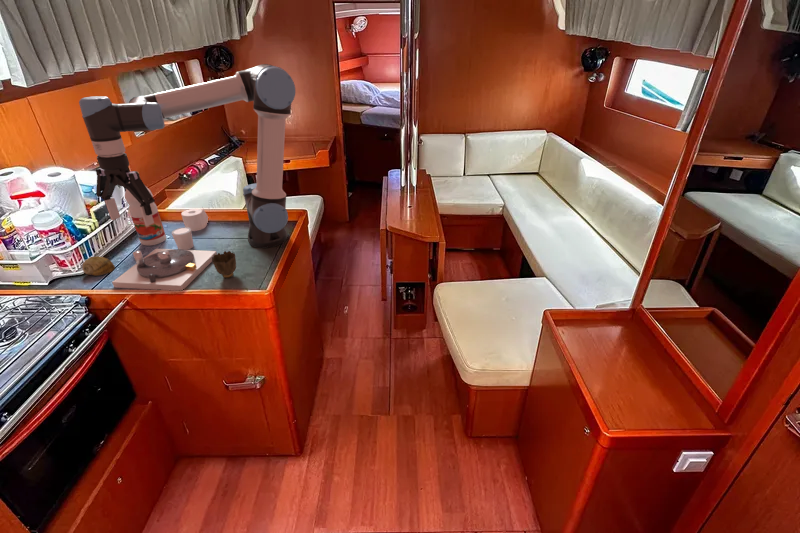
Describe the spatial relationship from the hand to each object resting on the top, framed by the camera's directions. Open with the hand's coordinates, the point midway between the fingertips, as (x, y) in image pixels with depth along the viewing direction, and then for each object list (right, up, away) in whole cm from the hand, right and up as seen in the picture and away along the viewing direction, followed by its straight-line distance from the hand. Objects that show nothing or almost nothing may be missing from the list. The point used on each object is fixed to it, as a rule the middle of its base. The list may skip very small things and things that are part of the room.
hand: (132, 221), depth 133 cm
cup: (+25, -18, +12) cm, 33 cm away
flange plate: (+3, -14, +14) cm, 20 cm away
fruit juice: (-15, -4, +37) cm, 40 cm away
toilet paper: (-2, +3, +50) cm, 50 cm away
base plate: (+3, -16, +16) cm, 23 cm away
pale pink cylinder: (+1, -7, +32) cm, 33 cm away
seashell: (-22, -16, +16) cm, 32 cm away
